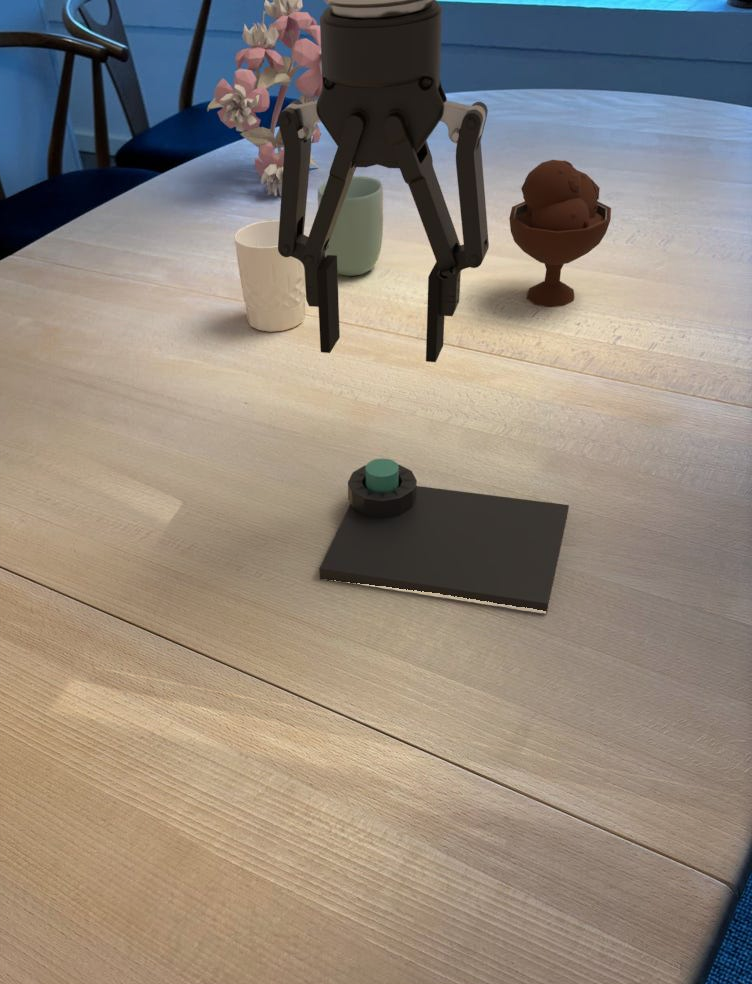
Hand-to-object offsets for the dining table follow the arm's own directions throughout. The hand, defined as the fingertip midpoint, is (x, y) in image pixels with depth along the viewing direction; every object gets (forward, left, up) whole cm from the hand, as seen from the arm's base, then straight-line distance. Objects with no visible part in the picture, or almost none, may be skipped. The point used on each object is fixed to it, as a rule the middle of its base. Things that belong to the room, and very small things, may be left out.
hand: (381, 348), depth 75 cm
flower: (+35, -79, -15) cm, 88 cm away
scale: (-7, +4, -15) cm, 17 cm away
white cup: (+21, -34, -15) cm, 43 cm away
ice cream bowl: (-9, -45, -15) cm, 48 cm away
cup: (+16, -49, -15) cm, 54 cm away
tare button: (0, 0, -13) cm, 13 cm away
